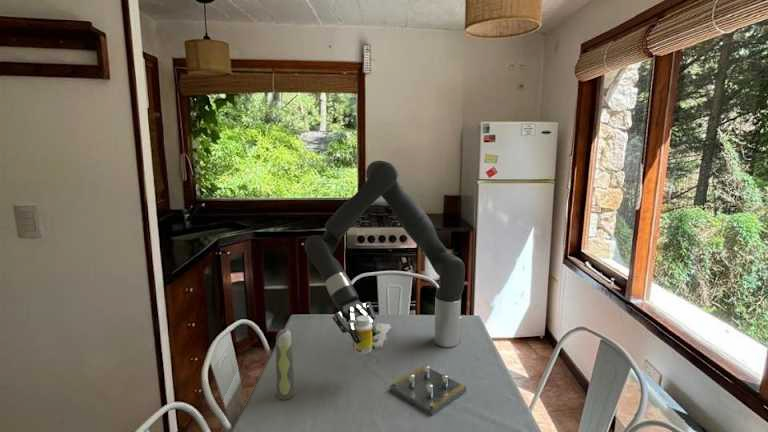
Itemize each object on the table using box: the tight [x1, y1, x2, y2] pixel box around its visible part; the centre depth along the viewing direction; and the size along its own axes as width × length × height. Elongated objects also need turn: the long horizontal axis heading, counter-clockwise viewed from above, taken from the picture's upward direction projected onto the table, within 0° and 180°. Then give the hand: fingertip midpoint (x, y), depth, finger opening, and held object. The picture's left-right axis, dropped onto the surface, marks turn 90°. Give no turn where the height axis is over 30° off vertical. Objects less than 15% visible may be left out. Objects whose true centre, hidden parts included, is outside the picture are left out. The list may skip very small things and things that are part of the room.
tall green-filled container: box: [275, 328, 295, 401], centre depth 117 cm, size 5×5×20 cm
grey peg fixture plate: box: [389, 364, 467, 416], centre depth 121 cm, size 16×16×5 cm
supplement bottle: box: [353, 315, 374, 355], centre depth 123 cm, size 6×6×10 cm
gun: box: [372, 322, 392, 350], centre depth 154 cm, size 18×3×10 cm
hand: (367, 338), depth 122 cm, fingers closed on supplement bottle, 5 cm apart
